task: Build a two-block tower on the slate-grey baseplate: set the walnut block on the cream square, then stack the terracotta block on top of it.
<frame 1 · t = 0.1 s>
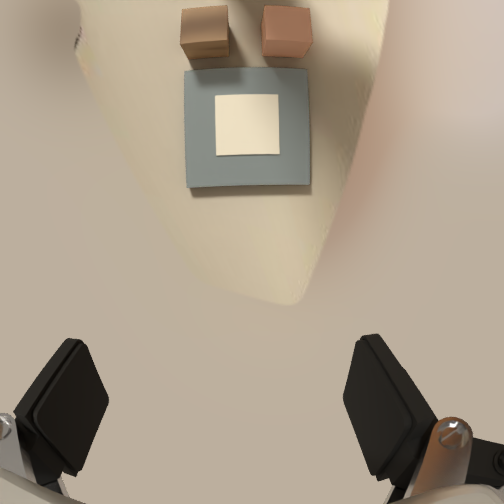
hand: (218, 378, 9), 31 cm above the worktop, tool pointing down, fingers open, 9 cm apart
walnut block: (208, 41, 30), on the worktop
terracotta block: (281, 40, 31), on the worktop
baseplate: (247, 125, 34), on the worktop
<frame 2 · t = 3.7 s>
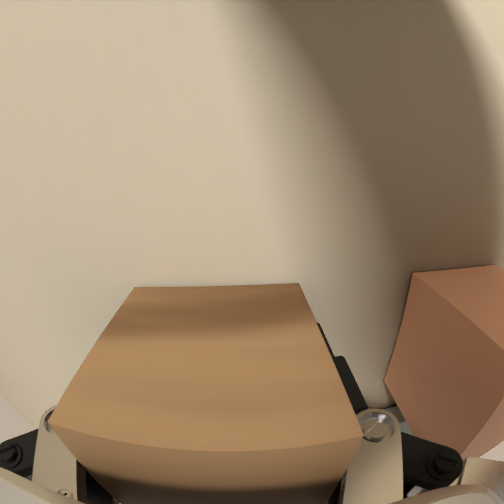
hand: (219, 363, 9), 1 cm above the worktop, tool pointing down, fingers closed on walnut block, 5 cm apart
walnut block: (220, 352, 10), on the worktop, touching gripper
terracotta block: (445, 324, 10), on the worktop
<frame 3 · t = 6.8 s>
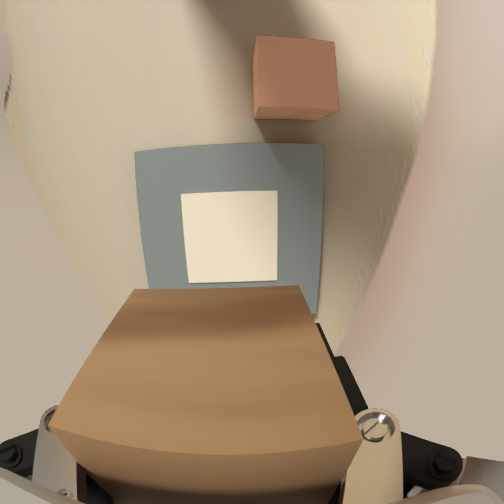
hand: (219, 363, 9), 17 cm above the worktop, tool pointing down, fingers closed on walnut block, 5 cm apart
walnut block: (220, 354, 10), point 16 cm above the worktop, touching gripper
terracotta block: (284, 90, 22), on the worktop
baseplate: (231, 234, 26), on the worktop
when the fingers open (3 cm above the worktop, at t = 9.7 s): walnut block stays where it is, resting on baseplate.
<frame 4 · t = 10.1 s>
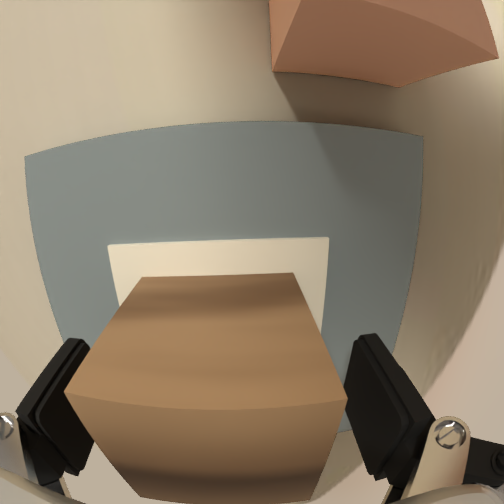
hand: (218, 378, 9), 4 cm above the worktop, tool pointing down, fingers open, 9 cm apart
walnut block: (220, 338, 11), point 1 cm above the worktop, touching baseplate
terracotta block: (335, 22, 8), on the worktop
baseplate: (222, 320, 12), on the worktop
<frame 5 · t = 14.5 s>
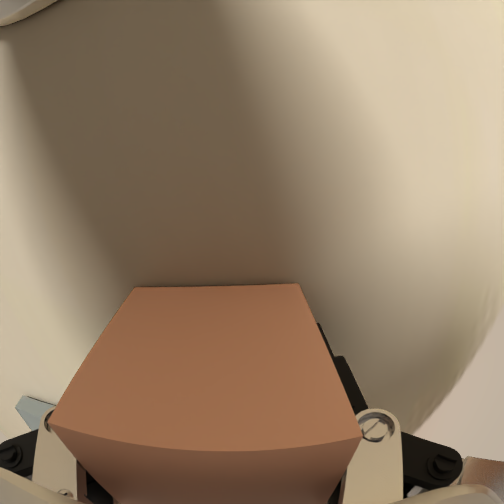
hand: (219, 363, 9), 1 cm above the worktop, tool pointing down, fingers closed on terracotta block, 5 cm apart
terracotta block: (220, 352, 10), on the worktop, touching gripper
baseplate: (166, 483, 14), on the worktop
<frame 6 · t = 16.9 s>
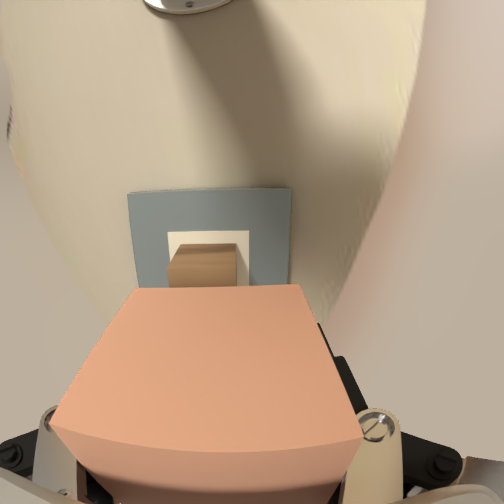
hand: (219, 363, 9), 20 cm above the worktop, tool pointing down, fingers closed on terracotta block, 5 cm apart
walnut block: (209, 269, 29), point 1 cm above the worktop, touching baseplate
terracotta block: (220, 353, 10), point 20 cm above the worktop, touching gripper
baseplate: (210, 264, 30), on the worktop
when the fingers open (9 cm above the worktop, at t = 19.7 s): terracotta block drops 1 cm, resting on walnut block.
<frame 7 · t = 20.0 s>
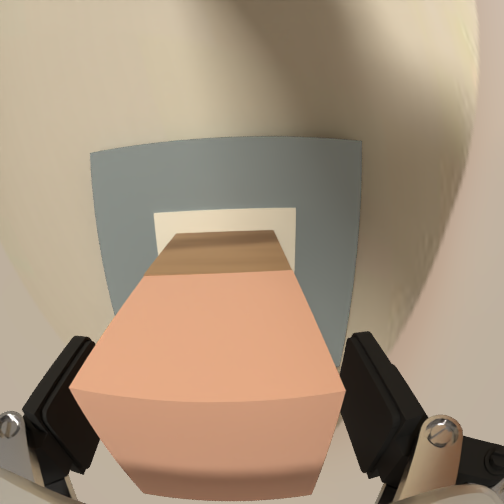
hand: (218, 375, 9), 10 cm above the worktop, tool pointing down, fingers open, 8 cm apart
walnut block: (226, 276, 17), point 1 cm above the worktop, touching baseplate, terracotta block
terracotta block: (222, 336, 11), point 7 cm above the worktop, touching walnut block
baseplate: (227, 268, 18), on the worktop
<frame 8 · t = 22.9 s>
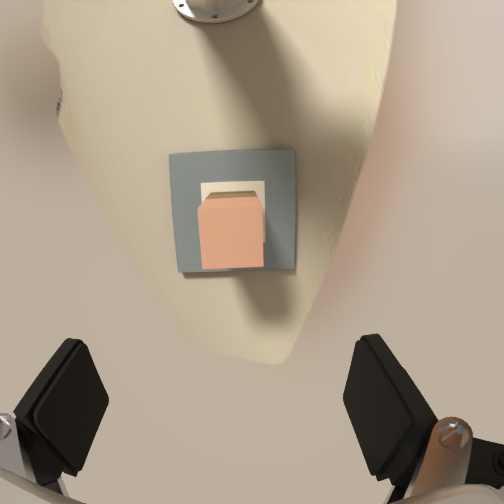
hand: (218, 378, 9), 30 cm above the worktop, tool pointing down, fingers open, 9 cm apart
walnut block: (233, 212, 36), point 1 cm above the worktop, touching baseplate, terracotta block
terracotta block: (232, 223, 30), point 7 cm above the worktop, touching walnut block
baseplate: (233, 211, 37), on the worktop
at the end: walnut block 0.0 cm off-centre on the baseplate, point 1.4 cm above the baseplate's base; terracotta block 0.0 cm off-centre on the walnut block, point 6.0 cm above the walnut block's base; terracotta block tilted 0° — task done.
